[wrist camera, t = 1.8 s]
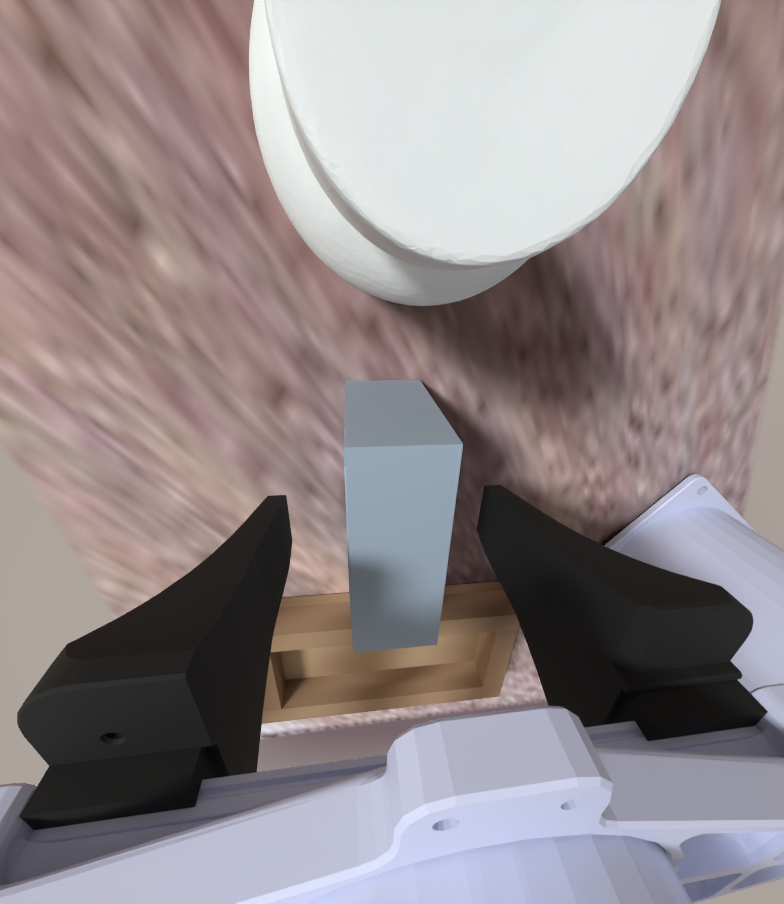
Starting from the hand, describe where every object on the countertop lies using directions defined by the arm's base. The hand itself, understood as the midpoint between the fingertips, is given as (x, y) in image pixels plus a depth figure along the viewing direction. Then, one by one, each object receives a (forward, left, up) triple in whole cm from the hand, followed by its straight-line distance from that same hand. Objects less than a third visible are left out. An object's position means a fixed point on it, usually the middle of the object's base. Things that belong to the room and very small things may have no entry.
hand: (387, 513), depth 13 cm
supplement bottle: (+6, -8, -4) cm, 11 cm away
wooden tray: (-7, +9, -3) cm, 12 cm away
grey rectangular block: (0, 0, -4) cm, 4 cm away
